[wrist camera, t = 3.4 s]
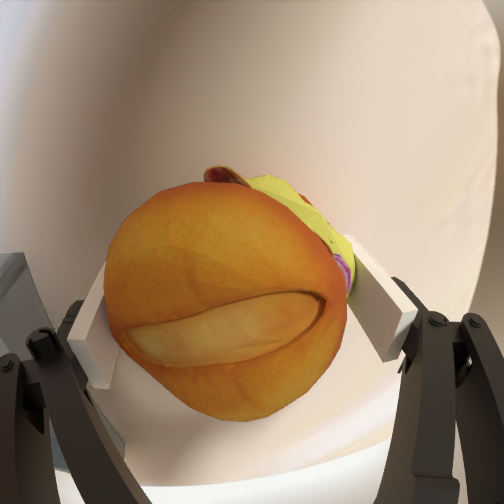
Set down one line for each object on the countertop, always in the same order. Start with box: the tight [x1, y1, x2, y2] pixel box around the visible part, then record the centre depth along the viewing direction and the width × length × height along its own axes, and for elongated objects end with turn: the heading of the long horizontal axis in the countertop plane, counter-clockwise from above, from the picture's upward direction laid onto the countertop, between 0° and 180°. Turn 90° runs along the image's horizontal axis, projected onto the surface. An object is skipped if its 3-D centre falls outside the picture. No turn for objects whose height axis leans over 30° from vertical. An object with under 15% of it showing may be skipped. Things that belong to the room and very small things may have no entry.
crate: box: [0, 253, 125, 473], centre depth 17 cm, size 24×16×5 cm, turn 0°
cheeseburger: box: [103, 166, 355, 422], centre depth 13 cm, size 10×11×10 cm
